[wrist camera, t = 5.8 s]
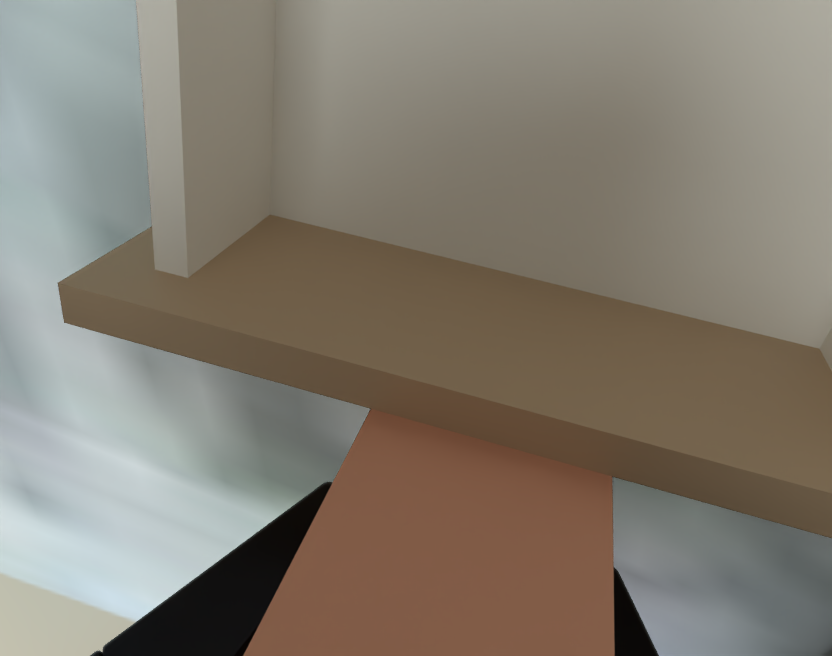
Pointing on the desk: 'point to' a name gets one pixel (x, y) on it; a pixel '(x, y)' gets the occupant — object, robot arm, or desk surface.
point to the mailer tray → (494, 284)
